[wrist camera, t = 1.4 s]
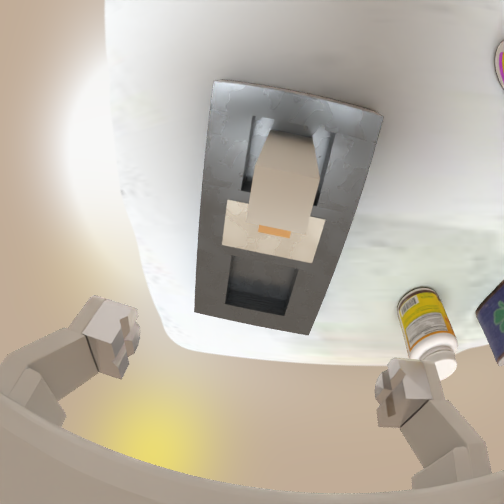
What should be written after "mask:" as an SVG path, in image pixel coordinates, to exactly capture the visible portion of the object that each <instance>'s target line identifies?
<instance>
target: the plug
mask: <svg viewBox="0 0 504 504" xmlns="http://www.w3.org/2000/svg"><path fill="white" fill-rule="evenodd" d="M319 180H320V177H319V171H318V165H317V159H316V153H315V148H314V143H313V138H308V137H304V136H299V135H295V134H290V133H285V132H280V131H275V130H270V132H269V134H268V137H267V139H266V141H265V143H264V146H263V148H262V150H261V153H260V155H259V157H258V160H257V162H256V164H255V169H254V175H253V181H252V187H251V193H250V199H249V205H248V211H247V218H246V222H248V223H253V224H258V225H259V229H258V232H261V233H265V234H270V235H275V236H280V237H285V238H290V235H291V231H292V232H296V233H301V234H305V233H306V229H307V226H308V222H309V218H310V215H311V211H312V207H313V203H314V200H315V196H316V192H317V188H318V184H319Z"/></svg>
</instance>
